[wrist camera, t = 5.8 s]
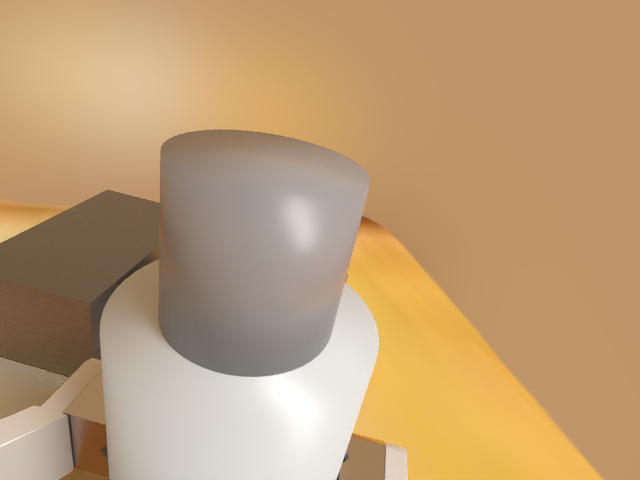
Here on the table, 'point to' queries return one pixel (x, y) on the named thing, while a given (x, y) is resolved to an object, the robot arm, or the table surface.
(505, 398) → the table surface
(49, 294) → the bottle holder
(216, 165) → the white lotion bottle
